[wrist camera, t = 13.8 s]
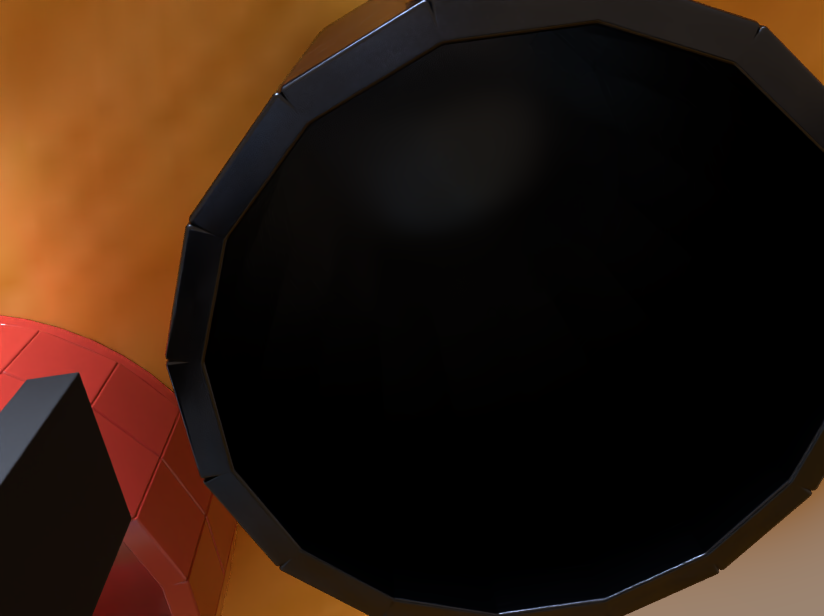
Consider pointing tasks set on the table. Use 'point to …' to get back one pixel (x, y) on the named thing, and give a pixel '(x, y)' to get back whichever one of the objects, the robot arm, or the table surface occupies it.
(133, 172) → the table surface
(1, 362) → the casserole
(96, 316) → the table surface
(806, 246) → the black cylindrical cup
